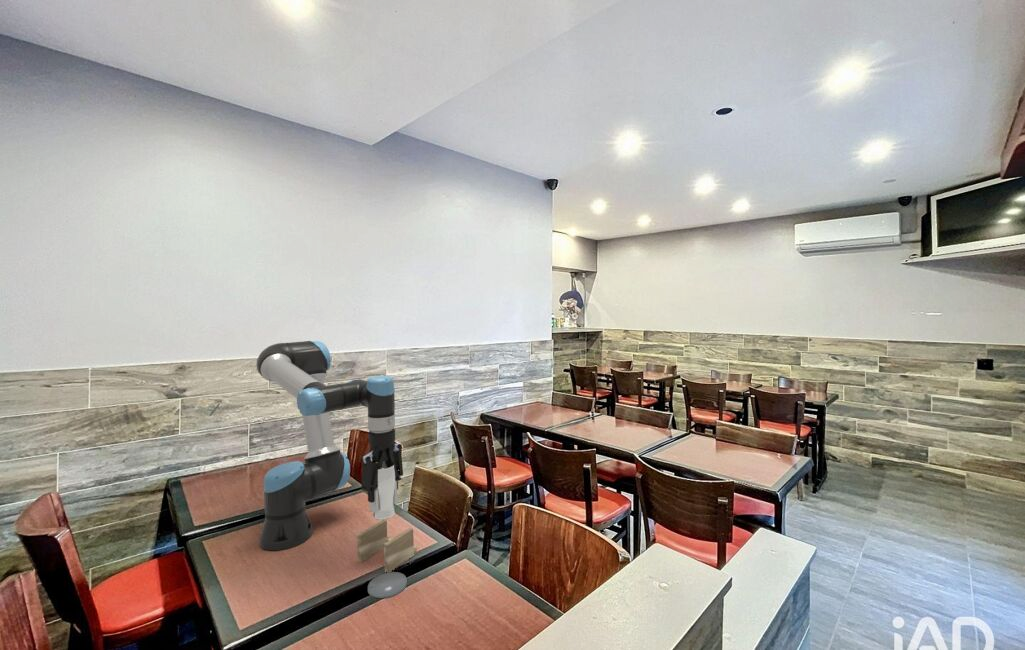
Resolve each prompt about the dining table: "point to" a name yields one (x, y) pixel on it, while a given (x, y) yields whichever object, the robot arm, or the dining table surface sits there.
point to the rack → (386, 545)
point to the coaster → (387, 585)
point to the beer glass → (385, 492)
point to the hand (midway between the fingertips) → (383, 506)
